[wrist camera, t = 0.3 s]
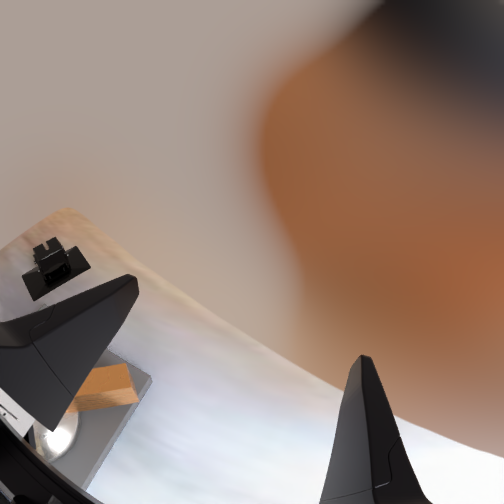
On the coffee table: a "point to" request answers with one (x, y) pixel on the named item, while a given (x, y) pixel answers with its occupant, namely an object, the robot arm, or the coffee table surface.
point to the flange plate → (57, 437)
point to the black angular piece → (53, 268)
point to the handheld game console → (3, 500)
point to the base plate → (97, 430)
